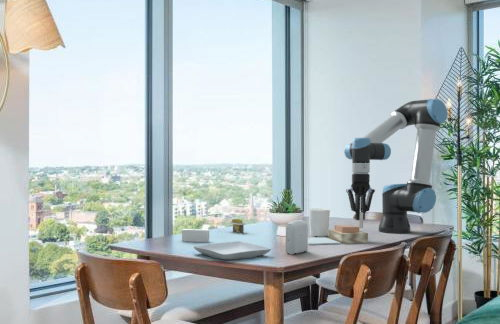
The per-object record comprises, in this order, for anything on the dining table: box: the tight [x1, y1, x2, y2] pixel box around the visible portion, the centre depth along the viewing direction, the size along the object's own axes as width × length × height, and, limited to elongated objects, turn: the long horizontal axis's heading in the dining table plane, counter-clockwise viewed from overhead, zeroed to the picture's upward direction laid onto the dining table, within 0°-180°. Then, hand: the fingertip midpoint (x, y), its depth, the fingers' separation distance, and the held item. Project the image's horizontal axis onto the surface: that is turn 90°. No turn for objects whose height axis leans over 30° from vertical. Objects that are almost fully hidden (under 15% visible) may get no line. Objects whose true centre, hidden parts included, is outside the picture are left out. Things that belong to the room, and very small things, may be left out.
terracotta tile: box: [333, 224, 360, 233], centre depth 245 cm, size 8×8×2 cm
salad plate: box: [193, 240, 272, 261], centre depth 207 cm, size 21×21×3 cm
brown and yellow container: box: [229, 218, 247, 234], centre depth 270 cm, size 12×18×7 cm, turn 40°
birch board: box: [327, 229, 369, 245], centre depth 245 cm, size 12×14×4 cm
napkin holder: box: [181, 228, 210, 243], centre depth 241 cm, size 15×11×6 cm
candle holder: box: [308, 208, 331, 238], centre depth 261 cm, size 10×10×12 cm
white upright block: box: [285, 219, 309, 255], centre depth 214 cm, size 10×4×12 cm, turn 140°
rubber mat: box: [308, 236, 341, 246], centre depth 242 cm, size 14×16×1 cm
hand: (360, 227), depth 247 cm, fingers closed
